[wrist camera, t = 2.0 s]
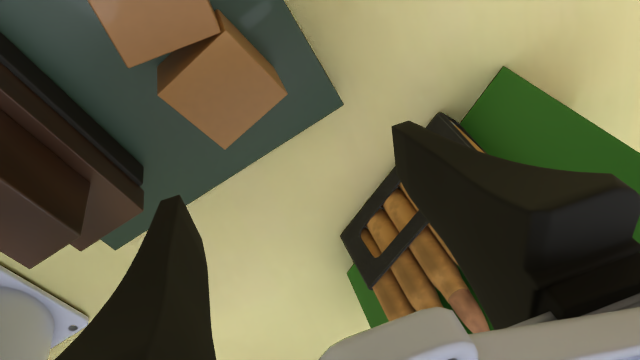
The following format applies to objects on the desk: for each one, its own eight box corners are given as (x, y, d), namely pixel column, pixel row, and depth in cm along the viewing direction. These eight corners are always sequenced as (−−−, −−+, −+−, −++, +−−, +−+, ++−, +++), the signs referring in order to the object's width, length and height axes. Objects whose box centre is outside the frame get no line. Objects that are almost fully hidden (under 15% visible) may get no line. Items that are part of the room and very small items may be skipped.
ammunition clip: (439, 110, 28) (581, 244, 19) (458, 122, 29) (602, 255, 20) (339, 236, 32) (416, 400, 23) (359, 243, 33) (441, 403, 24)
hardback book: (503, 66, 28) (1235, 535, 9) (572, 111, 31) (1191, 509, 13) (346, 273, 34) (576, 788, 16) (418, 290, 38) (672, 722, 19)
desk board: (116, 236, 27) (115, 250, 26) (-357, -125, 14) (-392, -123, 13) (337, 95, 26) (344, 105, 25) (29, -436, 13) (19, -457, 12)
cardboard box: (217, 119, 23) (224, 150, 21) (156, 67, 21) (156, 95, 18) (274, 67, 22) (288, 94, 20) (217, 8, 20) (225, 29, 18)
